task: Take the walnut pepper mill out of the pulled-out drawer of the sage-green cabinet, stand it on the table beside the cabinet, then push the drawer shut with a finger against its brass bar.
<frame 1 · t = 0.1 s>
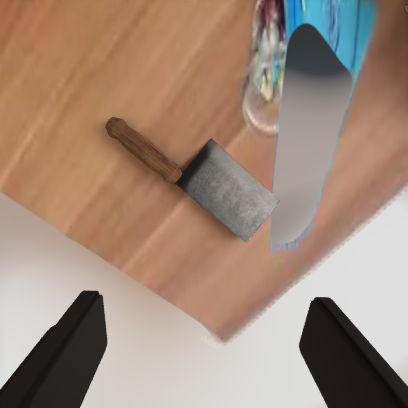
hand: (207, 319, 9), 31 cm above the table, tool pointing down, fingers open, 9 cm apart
meat cleaver: (199, 168, 38), on the table
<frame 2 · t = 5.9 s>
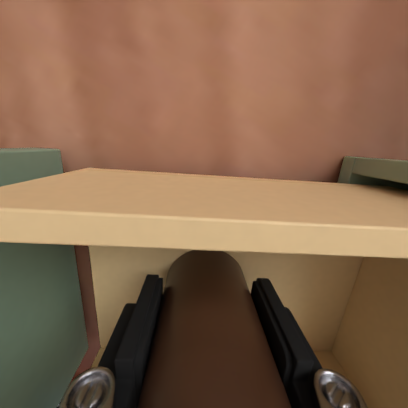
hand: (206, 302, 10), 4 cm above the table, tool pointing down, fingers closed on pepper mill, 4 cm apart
pepper mill: (205, 281, 11), point 2 cm above the table, touching drawer, gripper
drawer: (167, 314, 9), point 4 cm above the table, slide at 15.5 cm, touching pepper mill
when the fingers open (2 cm above the table, at t = 13.4 s): pepper mill stays where it is, on the table.
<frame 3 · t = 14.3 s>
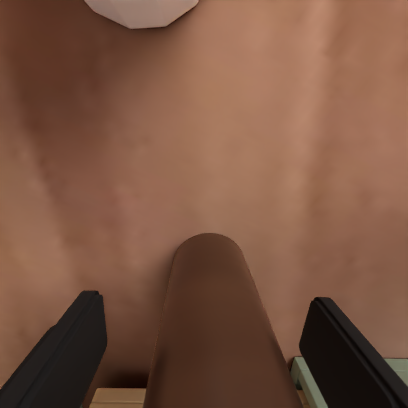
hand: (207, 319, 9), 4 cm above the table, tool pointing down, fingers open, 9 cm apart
pepper mill: (208, 265, 12), on the table
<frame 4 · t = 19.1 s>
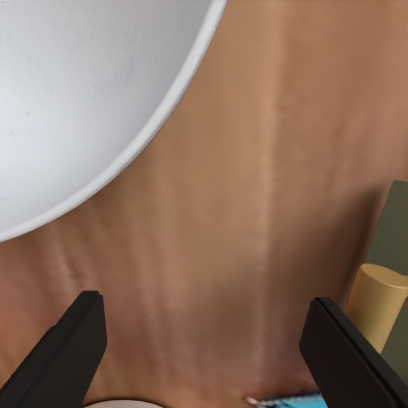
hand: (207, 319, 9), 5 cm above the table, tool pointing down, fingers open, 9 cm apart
chinaware: (63, 34, 9), on the table
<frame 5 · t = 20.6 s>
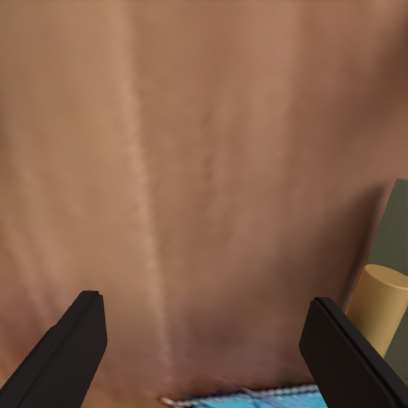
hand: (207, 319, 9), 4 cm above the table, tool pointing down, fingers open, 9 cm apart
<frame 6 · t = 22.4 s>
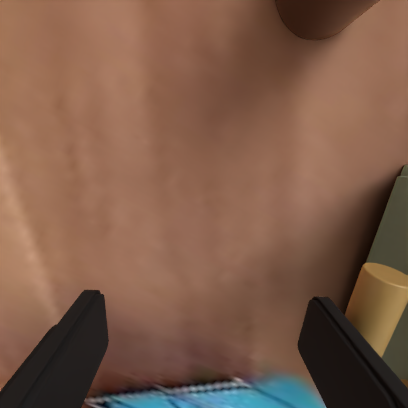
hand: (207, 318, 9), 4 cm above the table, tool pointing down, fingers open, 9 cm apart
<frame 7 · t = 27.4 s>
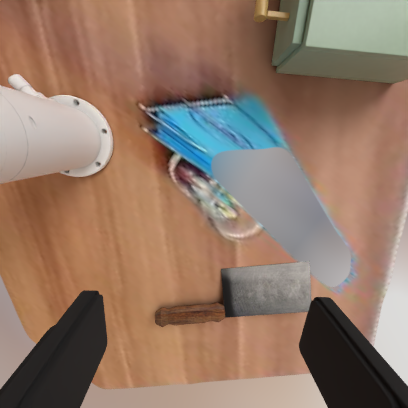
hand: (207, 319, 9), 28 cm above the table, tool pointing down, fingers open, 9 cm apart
cabinet: (348, 22, 29), on the table
meat cleaver: (231, 289, 43), on the table
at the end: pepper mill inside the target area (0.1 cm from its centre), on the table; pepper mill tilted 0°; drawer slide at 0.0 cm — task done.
